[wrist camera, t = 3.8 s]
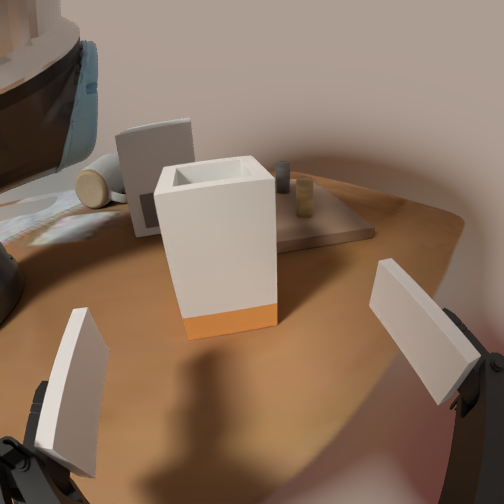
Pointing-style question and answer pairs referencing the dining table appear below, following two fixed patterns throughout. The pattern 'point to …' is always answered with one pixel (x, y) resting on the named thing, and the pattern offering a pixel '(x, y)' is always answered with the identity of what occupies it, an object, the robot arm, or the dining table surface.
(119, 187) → the ceramic mug
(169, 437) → the dining table surface
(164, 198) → the sleeve
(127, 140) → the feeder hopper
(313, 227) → the pin board
